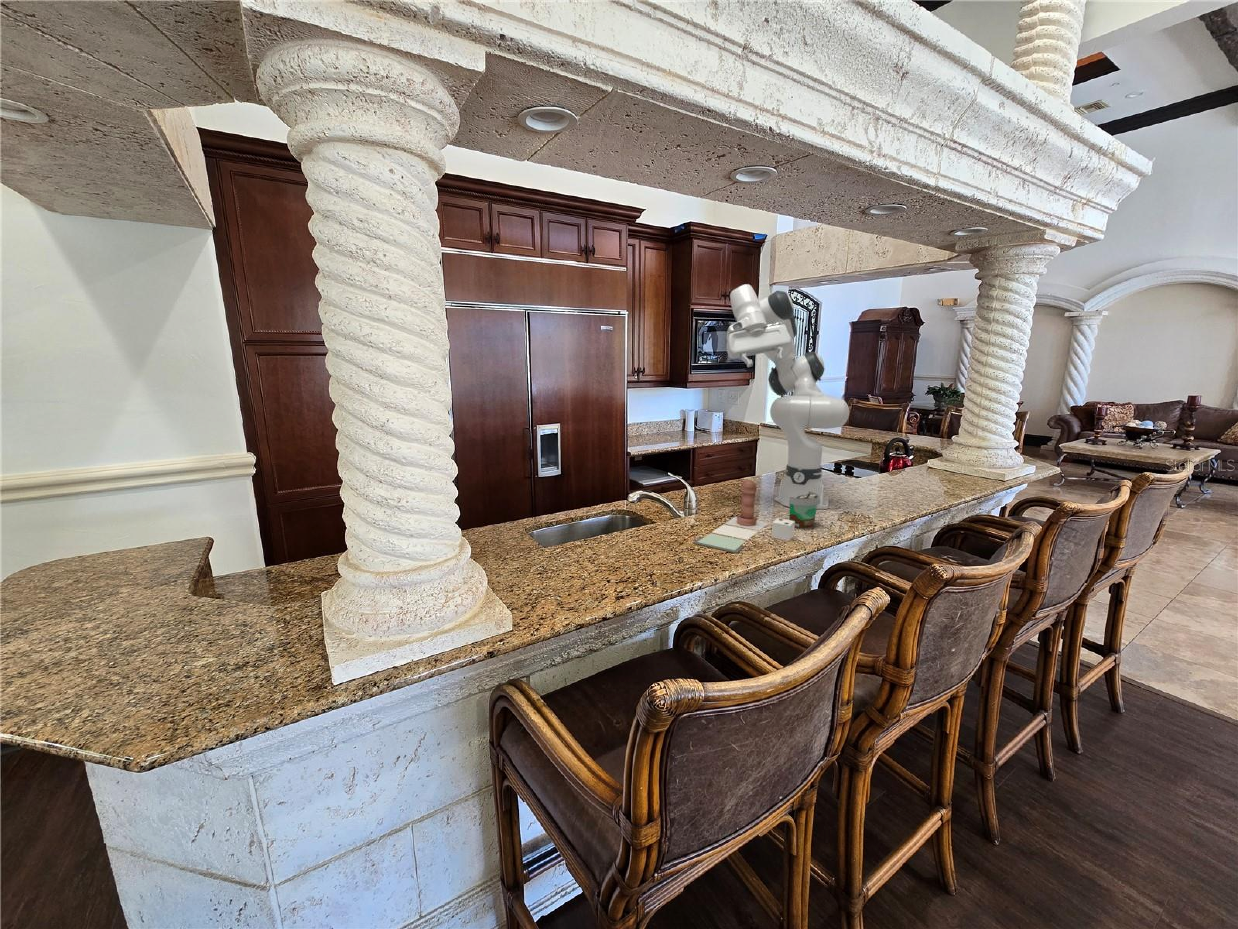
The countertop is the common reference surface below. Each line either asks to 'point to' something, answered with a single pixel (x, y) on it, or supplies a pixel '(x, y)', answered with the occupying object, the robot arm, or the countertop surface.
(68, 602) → the countertop surface
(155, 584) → the countertop surface
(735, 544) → the game board
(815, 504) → the food container
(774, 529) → the die
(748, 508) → the pawn
